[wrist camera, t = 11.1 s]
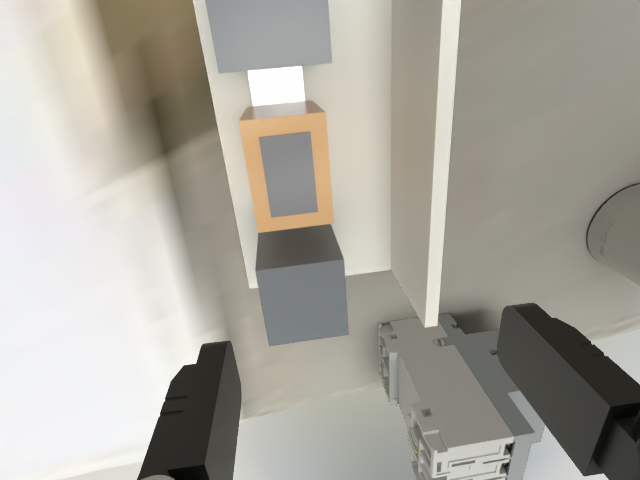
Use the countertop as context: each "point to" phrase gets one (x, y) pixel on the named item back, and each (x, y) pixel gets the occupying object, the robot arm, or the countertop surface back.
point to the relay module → (288, 165)
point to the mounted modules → (299, 243)
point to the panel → (368, 137)
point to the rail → (276, 85)
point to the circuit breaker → (456, 401)
